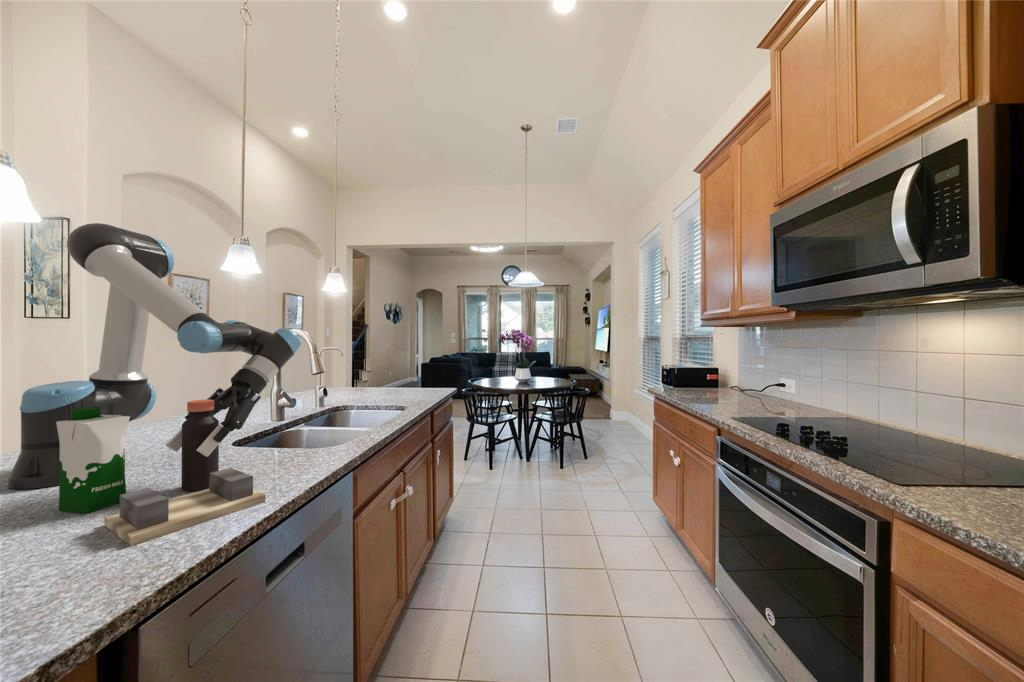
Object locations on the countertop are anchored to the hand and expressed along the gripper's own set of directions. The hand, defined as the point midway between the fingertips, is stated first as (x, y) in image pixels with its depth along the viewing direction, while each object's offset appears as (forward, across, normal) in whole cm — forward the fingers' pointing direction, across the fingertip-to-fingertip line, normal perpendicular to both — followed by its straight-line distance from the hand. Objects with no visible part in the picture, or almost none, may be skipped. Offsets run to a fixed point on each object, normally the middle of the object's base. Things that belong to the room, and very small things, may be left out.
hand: (186, 450), depth 88 cm
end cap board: (+11, -14, -2) cm, 18 cm away
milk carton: (+15, +9, +2) cm, 17 cm away
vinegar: (+5, 0, -9) cm, 10 cm away
